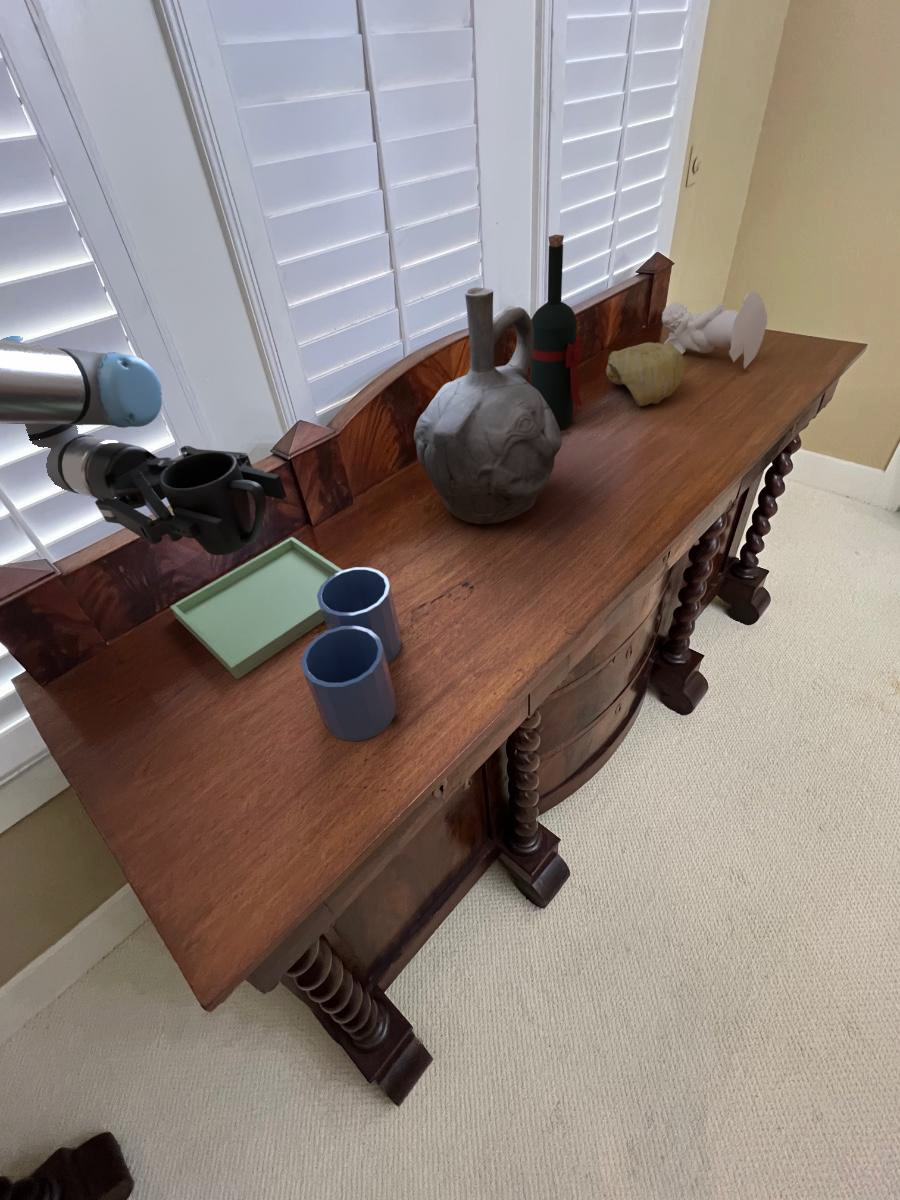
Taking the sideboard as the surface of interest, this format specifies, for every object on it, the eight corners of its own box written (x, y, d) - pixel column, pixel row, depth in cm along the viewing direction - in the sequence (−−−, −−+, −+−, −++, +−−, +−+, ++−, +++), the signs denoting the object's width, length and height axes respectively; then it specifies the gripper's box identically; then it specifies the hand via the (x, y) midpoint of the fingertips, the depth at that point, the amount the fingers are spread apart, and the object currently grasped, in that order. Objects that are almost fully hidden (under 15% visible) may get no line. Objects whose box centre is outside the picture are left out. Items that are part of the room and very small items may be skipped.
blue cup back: (341, 679, 67) (322, 623, 61) (331, 632, 73) (313, 577, 67) (408, 659, 68) (396, 603, 62) (393, 615, 74) (381, 560, 68)
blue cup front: (330, 751, 60) (308, 697, 54) (317, 694, 66) (296, 639, 59) (405, 726, 61) (391, 670, 55) (386, 672, 67) (371, 616, 61)
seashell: (688, 400, 115) (629, 366, 122) (711, 348, 106) (645, 314, 113) (635, 431, 108) (575, 393, 114) (654, 378, 99) (588, 340, 106)
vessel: (447, 454, 103) (426, 264, 83) (572, 462, 97) (583, 260, 77) (399, 536, 86) (359, 323, 66) (547, 552, 80) (553, 323, 60)
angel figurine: (655, 371, 132) (678, 321, 131) (744, 381, 119) (771, 325, 118) (633, 337, 121) (658, 282, 121) (728, 344, 108) (757, 282, 108)
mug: (256, 577, 63) (226, 502, 57) (177, 553, 68) (141, 482, 61) (302, 534, 68) (279, 462, 62) (226, 515, 73) (197, 446, 66)
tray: (237, 679, 68) (231, 668, 67) (176, 618, 77) (169, 606, 76) (364, 593, 77) (360, 581, 76) (295, 547, 87) (292, 536, 85)
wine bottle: (564, 440, 103) (573, 246, 83) (520, 424, 109) (519, 239, 89) (591, 423, 107) (606, 233, 86) (548, 409, 112) (552, 228, 92)
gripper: (190, 458, 80) (321, 488, 71) (55, 546, 67) (195, 597, 58) (168, 406, 75) (306, 431, 66) (17, 491, 62) (163, 536, 53)
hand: (254, 509), depth 62 cm, fingers closed on mug, 8 cm apart
